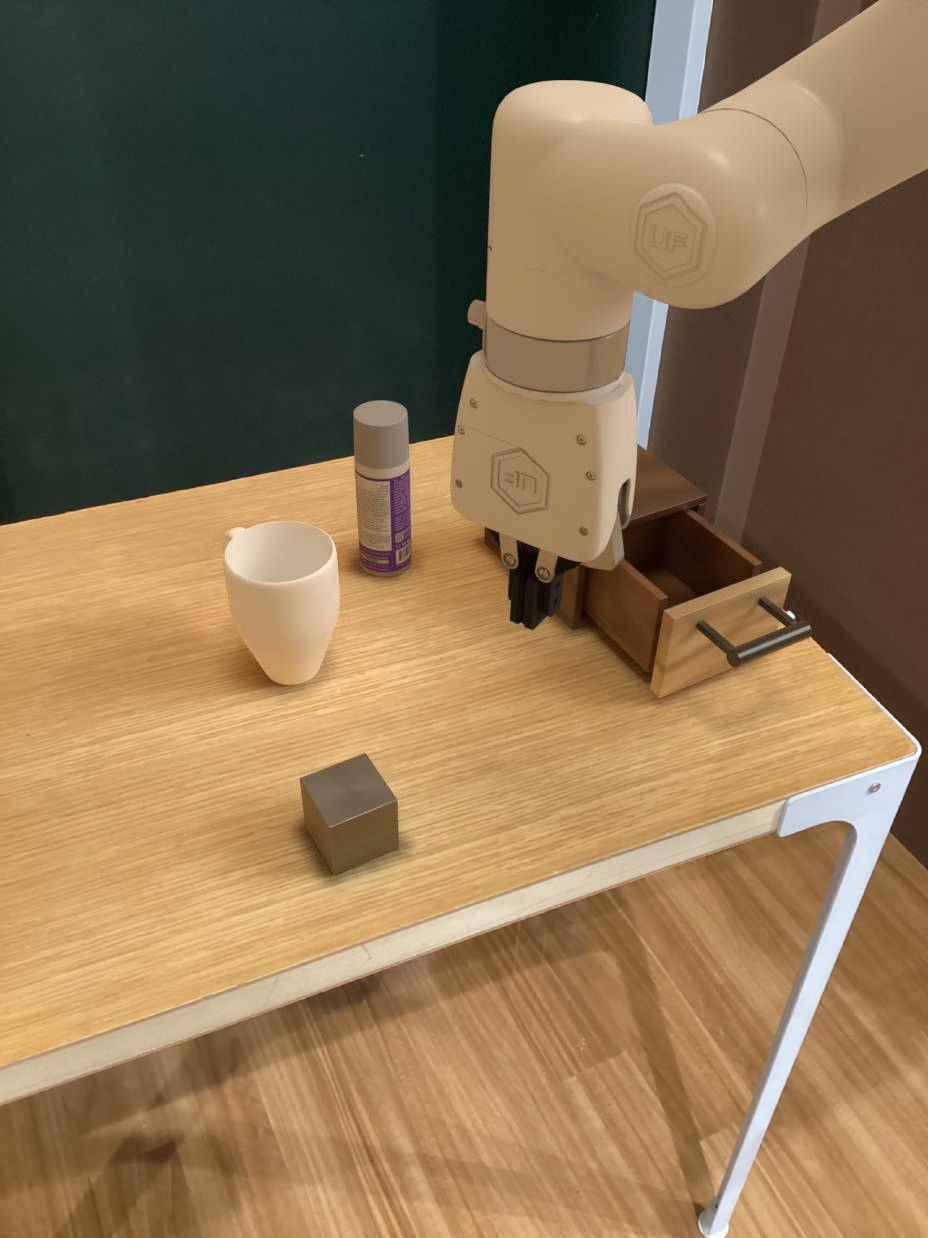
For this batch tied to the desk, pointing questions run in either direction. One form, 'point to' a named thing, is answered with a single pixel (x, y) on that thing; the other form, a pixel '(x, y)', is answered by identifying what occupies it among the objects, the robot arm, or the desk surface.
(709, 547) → the drawer
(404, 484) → the container
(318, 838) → the block
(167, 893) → the desk surface
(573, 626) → the cabinet
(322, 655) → the mug
